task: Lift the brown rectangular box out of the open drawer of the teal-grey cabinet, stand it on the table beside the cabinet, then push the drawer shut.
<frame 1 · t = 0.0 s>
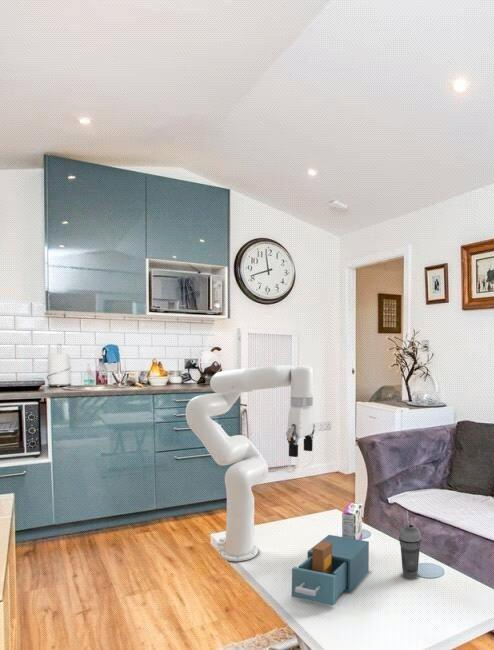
hand: (300, 453, 165), 37 cm above the table, tool pointing down, fingers open, 9 cm apart
candy bar box: (352, 556, 170), on the table
cabinet: (338, 577, 154), on the table
beverage cup: (410, 576, 156), on the table
drawer: (319, 579, 143), point 5 cm above the table, slide at 9.0 cm, touching brown rectangular box
brown rectangular box: (322, 587, 144), point 2 cm above the table, touching drawer
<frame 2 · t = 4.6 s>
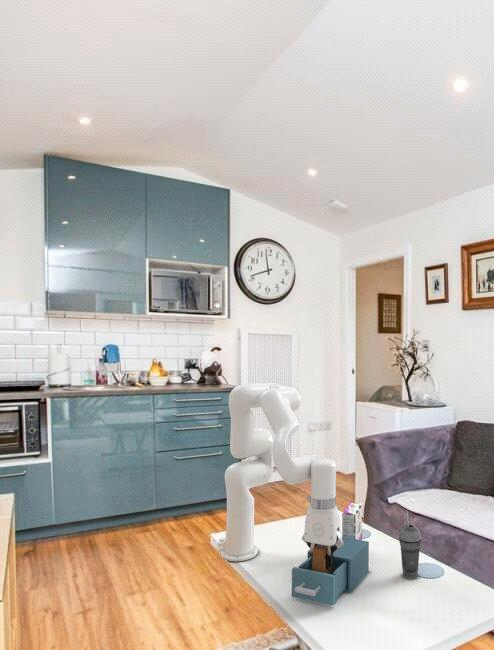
hand: (322, 565, 145), 8 cm above the table, tool pointing down, fingers closed on brown rectangular box, 3 cm apart
brown rectangular box: (322, 587, 144), point 2 cm above the table, touching drawer, gripper
everything else where it was.
when the fingers open (6 cm above the table, at t = 12.5 s): brown rectangular box stays where it is, on the table.
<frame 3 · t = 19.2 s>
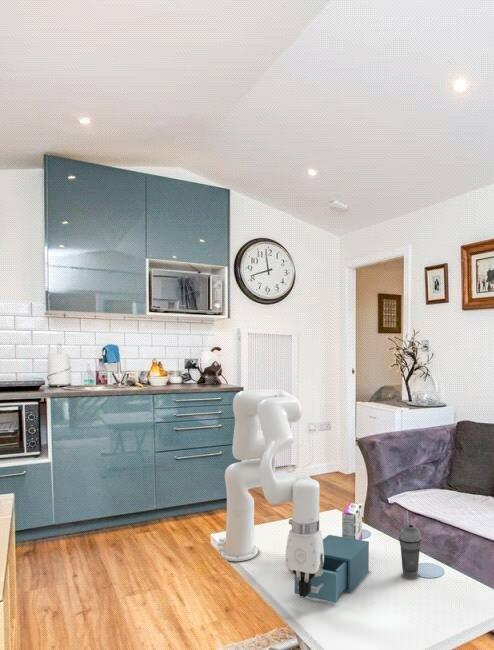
hand: (304, 594, 135), 5 cm above the table, tool pointing down, fingers closed
drawer: (322, 577, 144), point 5 cm above the table, slide at 7.3 cm, touching gripper
brown rectangular box: (303, 572, 158), on the table
everything else where it was.
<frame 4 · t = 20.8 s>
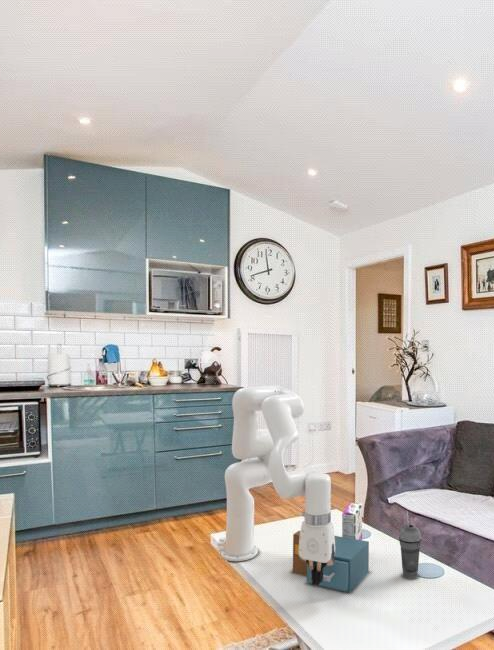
hand: (317, 582, 141), 5 cm above the table, tool pointing down, fingers closed
drawer: (333, 567, 151), point 5 cm above the table, slide at 0.0 cm, touching cabinet, gripper
everything else where it was.
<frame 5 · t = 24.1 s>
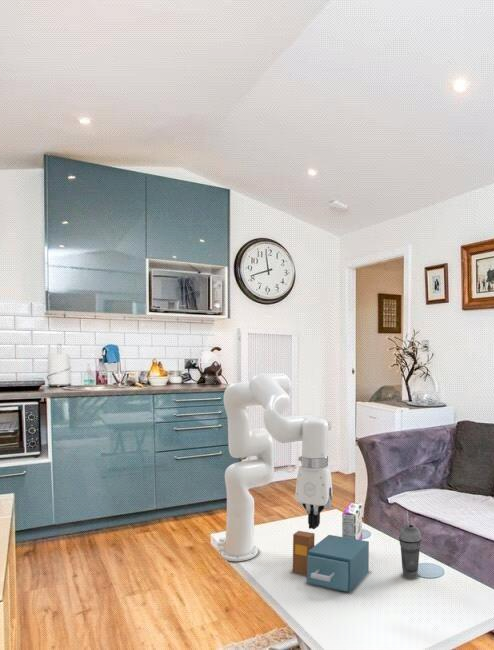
hand: (313, 527, 140), 21 cm above the table, tool pointing down, fingers closed
drawer: (333, 567, 151), point 5 cm above the table, slide at 0.0 cm, touching cabinet
everything else where it was.
at the end: brown rectangular box inside the target area (0.3 cm from its centre), on the table; drawer slide at 0.0 cm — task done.
